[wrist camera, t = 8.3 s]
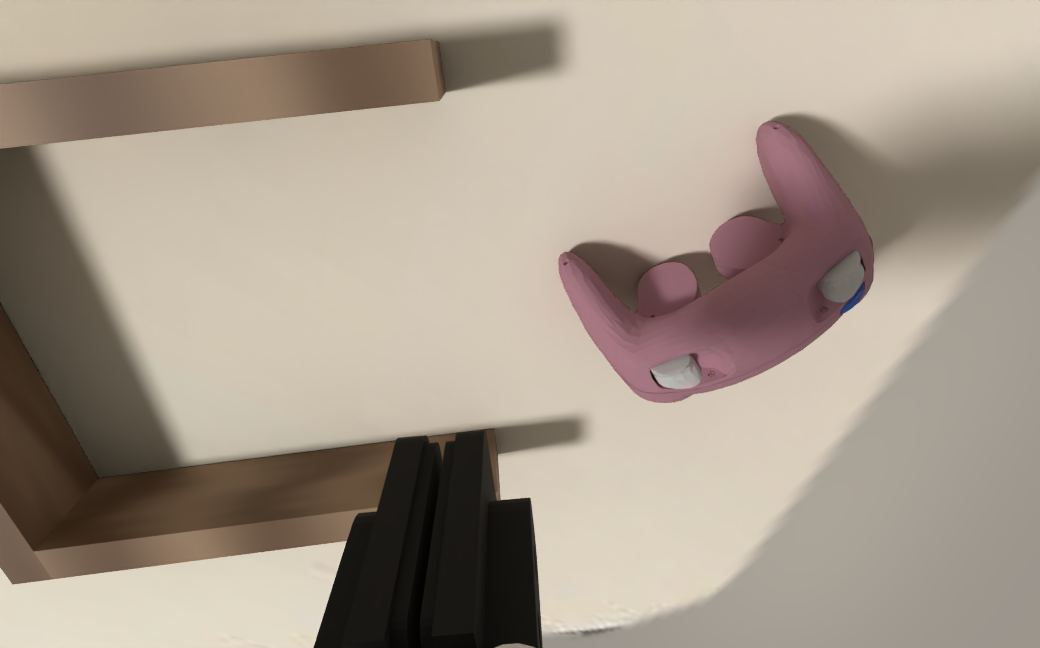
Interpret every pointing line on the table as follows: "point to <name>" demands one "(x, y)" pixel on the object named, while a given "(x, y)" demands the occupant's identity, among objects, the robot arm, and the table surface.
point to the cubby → (207, 488)
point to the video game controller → (737, 286)
